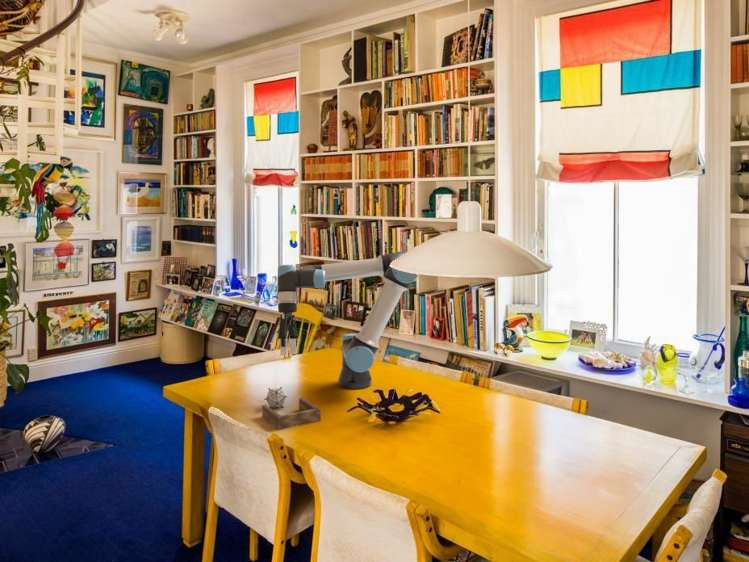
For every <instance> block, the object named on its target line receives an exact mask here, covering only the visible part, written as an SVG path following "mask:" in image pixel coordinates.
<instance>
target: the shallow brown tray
mask: <svg viewBox="0 0 749 562" xmlns="http://www.w3.org/2000/svg"><path fill="white" fill-rule="evenodd" d="M261 408H262V409H261V411H262V413H261V416H262V418H263V419H265V420H266V421H267V422H269V424H271V426H273V427H275V428H276V429H277V430H284V429H288V428H289V429H290V428H293V427H292V426H294V427H297V426H296V425H298V426H302V425H301V424H303V425H307V424H306V423H308V424H311V422H312V423H316V421H317V422H320V420H321V419H322V417H321V415H322V411H321V410H322V409H321V408H319V407H318V406H316V405H314V403H311V402H310V401H309V400H307V399H305V398H303V397H300V398H298V410H299V409H300V410H299V411H297V412H292V413H287V414H282V415H281V414H279V413H278V411H277V412H276V411H275V410H274V409H272V408H270V406H268V405H267V404H263V405H262V406H261ZM321 421H322V420H321Z"/></svg>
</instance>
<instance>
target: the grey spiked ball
mask: <svg viewBox="0 0 749 562" xmlns="http://www.w3.org/2000/svg"><path fill="white" fill-rule="evenodd" d="M267 389H268V391H267V392H268V393H267V395H266V398H263V399H264V400H265V401H266V402H267V404H268V405H269V406H268V407H270V408H271V409H272V408H279V407H280V408H282V409H284V406H283V405H284V402H285V400H286V398H288V396H287V395H285V394H284V392H283V390H282V386H280V387H279V388H270V387H268V388H267Z"/></svg>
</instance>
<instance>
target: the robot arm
mask: <svg viewBox="0 0 749 562" xmlns="http://www.w3.org/2000/svg"><path fill="white" fill-rule="evenodd" d="M405 253H406V252H404V251H396V252H392V253H391V252H390V253H387V254H382V255H381V254H379V255H378V256H377V257H375V258H374V257H373V258H368V259H359V260H352V261H351V260H350V261H344V262H343V261H340V262H334V263H328V264H327V263H326V264H320V265H306V266H304V268H303V269H297V267H296V265H294V264H283V265H282V264H281V265H279V266H278V267H277V295H276V297H277V300H278V305H277V308H278V313H281V314H279V326H278V327H279V328H278V335H277V339H279V348H280V349H279V350H280V351H279V353H280V356H288V352H289V355H297V339H298V338H299V336H298V332H297V326H296V316H295V314H293V313H297V310H298V307H297V305H298V304H297V303H296V302H297V300H298V299H297V298H298V297H297V296H298V295H297V289H311V288H312V289H315V288H316V289H318V288H325V287H326V282H332V281H341V280H349V279H358V278H366V277H372V276H374V277H375V276H380V277H382V278H383V279H384V284H383V286H382V288H381V289H380V292H379V294H378V295H377V297H376V299H375V302H374V304H373V305H372V307H371V309H370V311H369V313H368V315H367V318H366V320H365V321H364V323H363V325H362V327H361V329H360V331H359V332H358V333H345V334H344V335H342V339H341V342H342V345H341V348H342V349H341V351H342V352H341V353H342V355H341V356H342V358H341V363H342V364H341V370H340V373H339V377H338V379H337V380H338V381H337V382H338V383H337V384H338V386H339V387H341V388H344V389H349V390H350V389H351V390H352V389H353V390H358V389H359V390H361V389H366V388H369V387H371V386H372V385H371V384H372V383H373V381H372V375H371V373H370V369H371V368H372V367H373V365H374V363H375V356H376V354H377V352H378V349H379V347H380V346H379V340H380V338H381V335H382V334H383V332H384V330H385V328H386V326H387V324H388V322H389V321H390V318H391V316H392V314H393V312H394V310H395V308H396V306H397V304H398V303H399V300H400V299H401V297H402V294H403V293H404V292H406V291H408V290H409V289H410V286H411V285H412V283H413V282H415V281H416V279H418V277H419V275H416V274H410V273H406V272H402V271H398V270H396V269H393V268H391V267H390V266H389V265H390V263H391V262H392V261H393V260H395V259H397V258H399V257H400V256H402V255H403V254H405ZM288 335H289V339H288V337H287V336H288ZM288 342H289V343H288ZM288 344H289V345H288ZM288 348H289V349H288Z"/></svg>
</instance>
